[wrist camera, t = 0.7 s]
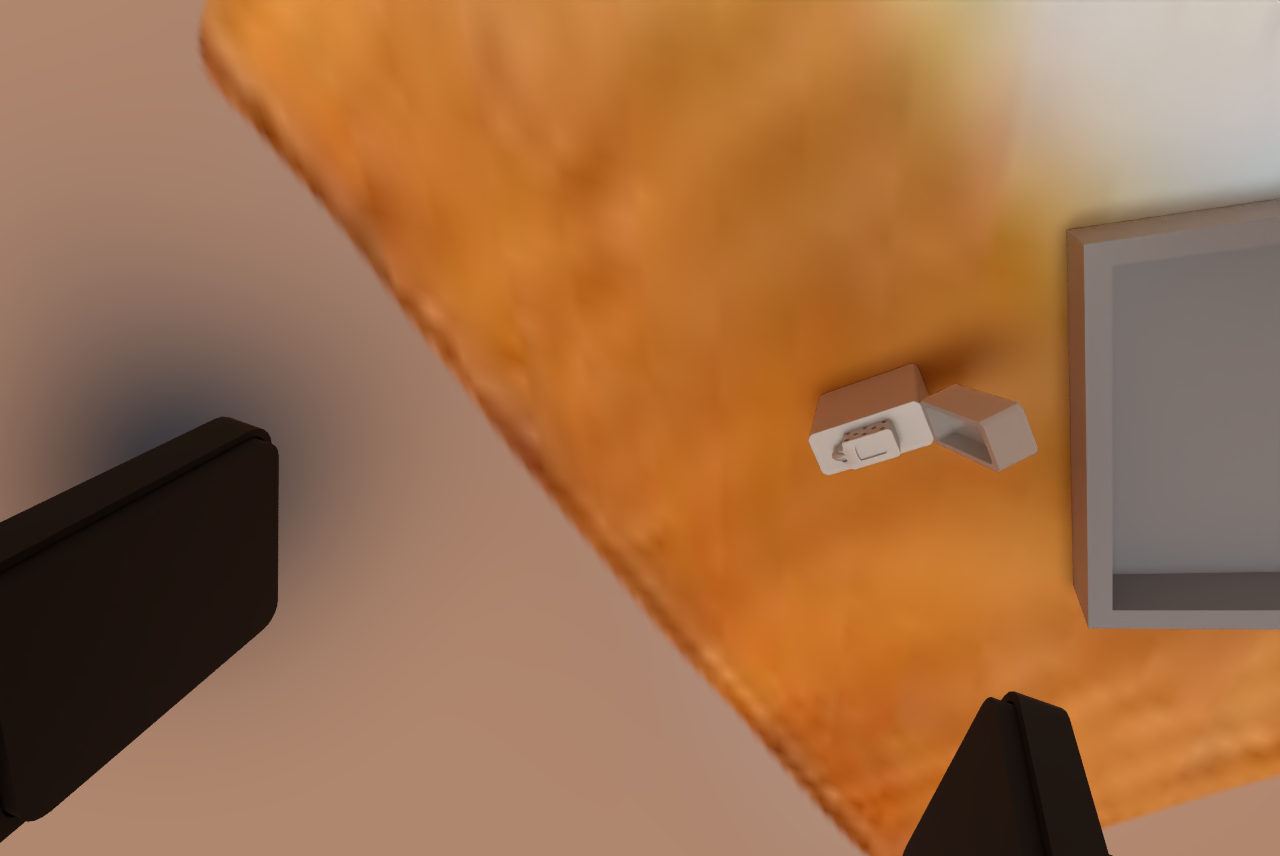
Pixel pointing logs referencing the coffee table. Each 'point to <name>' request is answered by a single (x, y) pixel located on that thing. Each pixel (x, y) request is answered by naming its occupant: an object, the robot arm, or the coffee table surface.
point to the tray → (1176, 419)
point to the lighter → (916, 423)
